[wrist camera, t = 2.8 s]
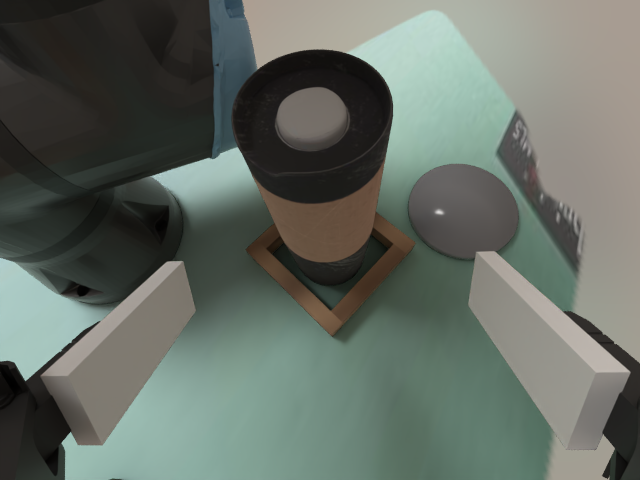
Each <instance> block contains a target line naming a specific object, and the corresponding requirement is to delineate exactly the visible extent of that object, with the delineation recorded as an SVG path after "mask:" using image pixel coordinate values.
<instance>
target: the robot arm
mask: <svg viewBox="0 0 640 480" xmlns="http://www.w3.org/2000/svg"><path fill="white" fill-rule="evenodd" d="M255 71H257V64H256V59H255V54H254V49H253V44H252V40H251V35H250V30H249V26H248V22H247V20H246V17H245V15H244V6H243V2H242V0H0V258H3V259H6V260H10V261H13V262H15V263H16V264H18V265H19V266H20V267H22V268H23V269H24V270H25V271H27V272H28V273H29V274H31V275H32V276H33V277H35V278H36V279H37V280H39V281H40V282H41V283H42V284H44V285H45V286H46V287H48V288H49V289H50V290H52V291H53V292H55V293H57V294H59V295H61V296H63V297H66V298H69V299H73V300H78V301H82V302H86V303H92V304H105V303H112V302H116V301H120V300H123V299H125V300H124V301H123V302H122V303H121V304H120V305H118V306H117V307H116V308H115V309H114V310H113V311H112V312H111V313H110V314H108V315H107V316H106V317H105V318H104V319H103V320H102V321H99V322H97V323H95V324H94V325H92V326H90V327H89V328H87V329H85V330H84V331H83V332H81V333H80V334H79V335H78V336H77V337H76V338H75V339H73V340H72V343H69V344H68V345H67V346H65V347H64V348H63V349H62V351H61V352H59V353H57V354H56V355H55V356H54V357H53V358H52V359H51V360H49V361H48V362H47V363H46V364H45V365H44V366H43V367H41V368H40V369H39V370H38V371H37V372H36V373H35V374H33V375H32V376H31V377H30V378H29V379H28V380H27V381H25V380H24V378H23V377H22V375H21V373H20V371H19V370H18V368H17V366H16V365H15V363H14V362H10V361H2V362H0V480H65V450H64V447H63V445H62V444H61V443H62V441H63V440H64V439H65V438H66V437H67V435H68V434H69V433H70V432H71V433H72V435H73V437H74V438H75V440H76V442H77V444H78V445H103V444H104V442H105V441H106V440H107V438H108V437H109V435H110V434H111V432H112V431H113V429H114V428H115V427H116V425H117V424H118V422H119V421H120V419H121V418H122V416H123V415H124V414H125V412H126V411H127V409H128V408H129V406H130V405H131V404H132V402H133V401H134V399H135V398H136V396H137V395H138V393H139V392H140V391H141V389H142V388H143V386H144V385H145V383H146V382H147V380H148V379H149V378H150V376H151V375H152V373H153V372H154V370H155V369H156V368H157V366H158V365H159V363H160V362H161V360H162V359H163V357H164V356H165V355H166V353H167V352H168V350H169V349H170V347H171V346H172V344H173V343H174V342H175V340H176V339H177V337H178V336H179V334H180V333H181V332H182V330H183V329H184V327H185V326H186V324H187V323H188V321H189V320H190V319H191V317H192V316H193V314H194V313H195V311H196V309H195V305H194V301H193V297H192V293H191V289H190V286H189V282H188V278H187V274H186V270H185V266H184V262H183V261H172V259H173V257H174V255H175V253H176V251H177V249H178V246H179V243H180V240H181V236H182V228H183V221H182V214H181V210H180V207H179V205H178V203H177V201H176V199H175V198H174V197H173V195H172V194H171V193H170V192H169V191H168V190H167V189H166V188H165V187H164V186H163V185H161V184H160V183H159V182H158V181H157V180H155V179H154V178H152V177H150V176H152V175H156V174H159V173H162V172H165V171H168V170H171V169H175V168H178V167H181V166H184V165H187V164H191V163H194V162H197V161H200V160H203V159H206V158H211V159H215V158H216V157H218V156H219V155H220V153H222V152H225V151H228V150H231V149H233V148H236V147H238V146H237V144H236V141H235V138H234V135H233V130H232V122H231V115H232V107H233V103H234V100H235V98H236V95H237V93H238V91H239V90H240V88H241V86H242V85H243V84H244V82H245V81H246V80H247V79H248V78H249V77H250V76H251V75H252V74H253V73H254V72H255ZM468 306H469V307H470V309H471V310H472V312H473V313H474V315H475V316H476V318H477V319H478V321H479V322H480V323H481V325H482V326H483V328H484V329H485V331H486V332H487V334H488V335H489V337H490V338H491V340H492V341H493V343H494V344H495V346H496V347H497V349H498V350H499V351H500V353H501V354H502V356H503V357H504V359H505V360H506V362H507V363H508V365H509V366H510V368H511V369H512V371H513V372H514V374H515V375H516V377H517V378H518V379H519V381H520V382H521V384H522V385H523V387H524V388H525V390H526V391H527V393H528V394H529V396H530V397H531V399H532V400H533V402H534V403H535V405H536V406H537V407H538V409H539V410H540V412H541V413H542V415H543V416H544V418H545V419H546V421H547V422H548V424H549V425H550V427H551V428H552V430H553V431H554V433H555V434H556V435H557V437H558V438H559V440H560V441H561V443H562V444H563V446H564V447H565V449H568V450H570V449H571V450H572V449H573V450H596V449H597V447H598V444H599V442H600V440H601V438H602V435H603V434H604V436H605V437H606V438H607V439H608V440H609V441H610V443H611V444H612V445H613V446H614V447H615V450H614V452H613V454H612V456H611V458H610V460H609V463H608V465H607V467H606V469H605V471H604V473H603V475H602V476H603V477H605V478H607V479H608V478H609V476H610V480H640V363H639V362H637V361H636V360H635V359H634V358H633V357H631V356H630V355H629V354H628V353H627V352H625V351H624V350H623V349H622V348H621V347H619V346H618V345H617V344H614V342H613V341H612V340H611V339H610V338H608V337H607V336H606V335H603V334H602V332H601V331H600V330H599V329H598V328H597V327H595V326H594V325H593V324H592V323H591V322H589V321H587V320H586V319H584V318H582V317H580V316H579V315H577V314H575V313H573V312H571V311H564V312H562V311H561V310H560V309H559V308H558V307H557V306H556V305H554V304H553V303H552V302H551V301H550V300H549V299H548V298H547V297H545V296H544V295H543V294H542V293H541V292H540V291H539V290H538V289H536V288H535V287H534V286H533V285H532V284H531V283H530V282H529V281H527V280H526V279H525V278H524V277H523V276H522V275H521V274H520V273H518V272H517V271H516V270H515V269H514V268H513V267H512V266H511V265H509V264H508V263H507V262H506V261H505V260H504V259H503V258H502V257H500V256H499V255H498V254H497V253H496V252H495V251H485V252H476V257H475V263H474V269H473V276H472V282H471V289H470V295H469V302H468Z"/></svg>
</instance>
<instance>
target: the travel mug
mask: <svg viewBox="0 0 640 480" xmlns="http://www.w3.org/2000/svg"><path fill="white" fill-rule="evenodd" d="M392 119H393V101H392V96H391V93H390V90H389V87H388V85H387V83H386V82H385V80H384V79H383V77H382V76H381V75H380V73H379V72H378V71H377V70H375V69H374V68H373V67H372V66H371V65H369V64H368V63H367V62H365V61H363V60H361V59H359V58H357V57H355V56H352V55H350V54H346V53H343V52H339V51H333V50H306V51H305V50H304V51H299V52H294V53H291V54H287V55H284V56H281V57H279V58H276V59H275V60H272V61H270V62H268V63H267V64H265V65H264V66H262V67H260V68H259V69H258V70H257V71H255V72H254V73H253V74H252V75H251V76H250V77H249V78H248V79H247V80H246V81H245V82H244V84H243V85H242V86H241V88H240V90H239V91H238V93H237V95H236V98H235V100H234V103H233V107H232V115H231V122H232V130H233V135H234V138H235V141H236V144H237V146H238V148H239V150H240V151H241V153H242V155H243V157H244V159H245V161H246V163H247V165H248V167H249V169H250V171H251V174H252V176H253V178H254V180H255V182H256V184H257V186H258V189H259V191H260V193H261V195H262V197H263V199H264V201H265V203H266V206H267V208H268V210H269V212H270V214H271V216H272V218H273V220H274V223H275V225H276V227H277V229H278V231H279V233H280V235H281V237H282V239H283V241H284V243H285V245H286V246H287V248H288V250H289V251H290V253H291V255H292V256H293V258H294V260H295V261H296V263H297V265H298V266H299V268H300V269H301V271H302V272H303V273H304V275H305V276H306V277H308V278H309V279H310V280H312V281H313V282H315V283H318V284H321V285H329V286H330V285H338V284H341V283H344V282H346V281H348V280H349V279H351V278H352V277H353V276H354V275H355V274H356V273H357V272H358V270H359V269H360V267H361V265H362V262H363V259H364V256H365V253H366V249H367V246H368V242H369V239H370V235H371V232H372V228H373V223H374V218H375V212H376V207H377V201H378V196H379V190H380V185H381V179H382V174H383V168H384V163H385V158H386V152H387V147H388V141H389V136H390V130H391V125H392Z"/></svg>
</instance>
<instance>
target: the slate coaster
mask: <svg viewBox="0 0 640 480" xmlns="http://www.w3.org/2000/svg"><path fill="white" fill-rule="evenodd" d="M408 214H409V219H410V222H411V225H412V227H413V229H414V231H415V232H416V233H417V235H418V236H419V237H420V239H421V240H422V241H423V242H424V243H426V244H427V245H428V246H429V247H431V248H432V249H434V250H435V251H437V252H439V253H441V254H443V255H446V256H449V257H452V258H457V259H469V260H471V259H475V257H476V252H485V251H495V252H497V251H498V250H500V249H501V248H502V247H504V246H505V245H506V244H507V243H508V242H509V241H510V240H511V238H512V237H513V235H514V233H515V231H516V229H517V225H518V218H519V216H518V208H517V204H516V201H515V199H514V197H513V195H512V193H511V192H510V190H509V189H508V187H507V186H506V185H505V184H504V183H503V182H502V181H501V180H500V179H498V178H497V177H496V176H494V175H493V174H491V173H489V172H488V171H486V170H483V169H481V168H478V167H475V166H471V165H465V164H449V165H443V166H440V167H437V168H434V169H432V170H430V171H429V172H427V173H426V174H424V175H423V176H422V177H421V178H420V179H419V180H418V181H417V182H416V184H415V186H414V187H413V190H412V192H411V194H410V197H409V201H408Z"/></svg>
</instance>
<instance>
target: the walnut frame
mask: <svg viewBox="0 0 640 480" xmlns="http://www.w3.org/2000/svg"><path fill="white" fill-rule="evenodd" d="M371 235H372V236H373V237H375V238H376V239H377V240H378V241H380V242H381V243H382V244H383V245H385V246H386V247H387V248H388V249H389V250H388V251H387V252H386V253H385V254H384V255H383V256H382V257H381V258H380V259H379V260H378V261H377V262H376V263H375V265H374V266H373V267H372V268H371V269H370V270H369V271H368V272H367V273H366V274H365V275H364V276H363V277H362V278H361V279H360V281H359V282H358V283H357V284H356V285H355V286H354V287H353V288H352V289H351V290H350V291H349V292H348V293H347V294H346V295H345V297H344V298H343V299H342V300H341V301H340V302H339V303H338V304H337V305H336V306H335V307H334V308H333V309H332V310H331V311H330V310H329V309H328V308H327V307H326V306H325V305H324V304H323V303H322V302H321V301H320V300H319V299H318V298H317V297H316V296H314V295H313V294H312V293H311V292H310V291H309V290H308V289H307V288H306V287H305V286H304V285H303V284H302V283H301V282H300V281H299V280H298V279H297V278H296V277H295V276H294V275H293V274H292V273H291V272H290V271H289V270H288V269H286V268H285V267H284V266H283V265H282V264H281V263H280V262H279V261H278V260H277V259H276V258H275V257H274V256H273V255H272V253H273V252H274V251H275V250H277V249H278V248H279V247H280V246H281V245H282V244H283V243H284V241H283V239H282V237H281V235H280V233H279V231H278V229H277V227H276V225H275V223H274V224H273V225H271V226H270V227H269V228H268V229H267V230H266V231H265V232H264V233H263V234H262V235H261V236H260V237H258V238H257V239H256V240H255V241H254V242H253V243H252V244H251V245H250V246H249V247H248V248H247V249H245V250H246V251H247V252H248V253H249V254H250V256H251V257H252V258H253V259H254V260H255V261H256V262H257V263H258V264H259V265H260V266H261V267H262V268H263V269H264V270H265V271H266V272H267V273H268V274H269V275H270V276H271V277H272V278H273V279H274V280H275V281H276V282H277V283H278V284H279V285H280V286H281V287H282V288H283V289H284V290H286V291H287V292H288V293H289V294H290V295H291V296H292V297H293V298H294V299H295V300H296V301H297V302H298V303H299V304H300V305H301V306H302V307H303V308H304V309H305V310H306V311H307V312H308V313H309V314H310V315H311V316H312V317H313V318H314V319H315V320H316V321H317V322H318V323H319V324H320V325H321V326H322V327H323V328H324V329H325V330H326V331H327V332H328V333H329V334H330V335H331V336H332V337H333V336H334V335H335V334H336V333H337V331H338V330H339V329H340V328H341V327H342V326H343V325H344V324H345V323H346V322H347V320H348V319H349V318H350V317H351V316H352V315H353V314H354V313H355V312H356V311H357V309H358V308H359V307H360V306H361V305H362V304H363V303H364V302H365V301H366V300H367V298H368V297H369V296H370V295H371V294H372V293H373V292H374V291H375V290H376V289H377V288H378V286H379V285H380V284H381V283H382V282H383V281H384V280H385V279H386V278H387V277H388V275H389V274H390V273H391V272H392V271H393V270H394V269H395V268H396V267H397V266H398V264H399V263H400V262H401V261H402V260H403V259H404V258H405V257H406V256H407V255H408V254H409V252H410V251H411V250H412V249H413V247H414V245H415V244H416V243H415V242H414V241H413V240H411V239H410V238H409V237H408V236H406V235H405V234H404V233H402V232H401V231H400V230H399V229H397V228H396V227H395V226H393V225H392V224H391V223H389V222H388V221H387V220H386V219H384V218H383V217H382V216H380V215H379V214H378V213H377V212H375V218H374V223H373V228H372V232H371Z"/></svg>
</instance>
